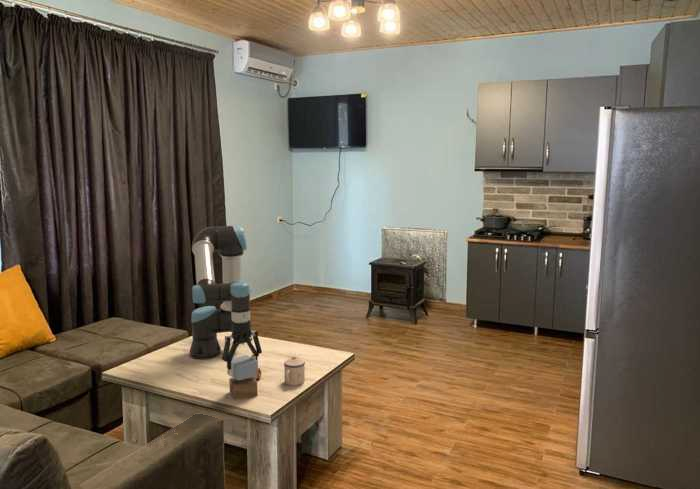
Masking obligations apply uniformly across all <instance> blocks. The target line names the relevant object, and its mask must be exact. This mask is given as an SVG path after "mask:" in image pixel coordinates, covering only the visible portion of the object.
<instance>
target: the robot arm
mask: <svg viewBox="0 0 700 489" xmlns="http://www.w3.org/2000/svg"><path fill="white" fill-rule="evenodd" d="M246 239H247V238H246V235H245V230H244V227H243V226H241V225H224V226H223V225H221V226H208V227H205V228H203V229H201V231H199V232H198V233H197V234H196V235H195V237H194V239H193V240H192V244H191V251H192V253H193V255H194V264H195V266H194V267H195V280H196V284H195V285H192V287H191V290H192V302H193V303H194V304H210V303H221V304H220V306H219V307H220V308H218V309H217V308H216V306H214V305H207V306H202V307H198V308H196V309H194V310H193V311H192V312H191V320H190V321H191V331H192V332H191V334H192V340H191V344H190V348H189V351H188V352H189V353H188V354H189V357H190V358H191V359H195V360H208V359H209V360H210V359H214V358H216V357H219V356H220V355H222V356H221V360H222V361H223V362H226V368H227V369H229V377H230V378H233V377H234V367H233V361H232V359H233V358H234V356H235V354H236V351H237V349H238V348H239V346H240V345H243V343H244V344H247V346H248V348H249V350H250V351H251V353H252V354H251V356H250V357H251V358H253V359H255V360H257V361H258V362H259V359H258V358H259V357H260V354H262V352H263V351H262V347H261V343H260V340H259V332H258V331H257V330H255V329H253V330H252V325H251V323H252V322H251V290H250V288H251V287H250V283H248V282H247V281H242V280H241V277H242V274H241V272H242V271H241V270H242V268H241V267H242V266H241V257H242V256H243V255H244V251H246V250H247V249H248V248H247V247H248V246H247V240H246ZM214 252H218V255H219V256H220V257H221V260H222V262H221V263H222V264H221V265H222V283H216V280H215V271H214V270H215V269H214V260H213V253H214ZM221 333H231V334H230V335H225V336H224V347H223V351H222V347H221V345H220V342H219V340H218V335H217V334H221ZM251 335H252V338H253V339H252V340H253V343H252V340H250V339H249V338H250V336H251ZM231 343H232V345H231ZM253 344H254V345H253ZM254 346H255V347H254ZM222 352H223V353H222Z"/></svg>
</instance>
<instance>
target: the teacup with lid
mask: <svg viewBox="0 0 700 489" xmlns="http://www.w3.org/2000/svg"><path fill="white" fill-rule="evenodd" d="M284 360H285V359H284ZM305 364H306V361H305V360H304V359H302V358H300V357H297V355H292V356H291V357H290V358H287V359H286V360H285V361H284V362H283V366H284V368H283V369H284V382H285V384H286V385H289V386H299V385H300V386H301V385H302V384H304V382H305V381H306V380H305V378H306V377H305Z"/></svg>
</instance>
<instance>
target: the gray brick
mask: <svg viewBox="0 0 700 489" xmlns="http://www.w3.org/2000/svg"><path fill="white" fill-rule="evenodd" d="M232 361H233V367H234V377H233V378H235V379H237V380H238V381H239V380H243V379H246V378H249V377H253V376H256V375H258V368H259V360H258V361H257V360H255V359H253V358H251V356H249V355H247V354H245V355H241V356H237V357H235V358H234V357H233V358H232ZM226 371H227V375H229V369H227V370H226Z"/></svg>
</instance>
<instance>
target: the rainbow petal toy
mask: <svg viewBox="0 0 700 489" xmlns="http://www.w3.org/2000/svg"><path fill="white" fill-rule="evenodd" d="M261 377H262V370H261V367H258V375H256V376H253V378H254V379H255V380H256V381H257V379H260V378H261Z"/></svg>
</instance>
